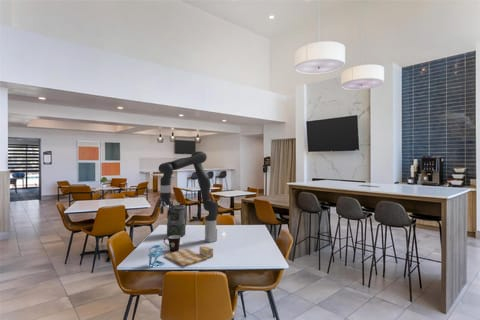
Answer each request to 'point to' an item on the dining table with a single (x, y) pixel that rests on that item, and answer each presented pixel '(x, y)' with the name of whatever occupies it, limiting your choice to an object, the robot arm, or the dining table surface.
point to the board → (185, 257)
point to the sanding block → (206, 251)
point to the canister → (176, 221)
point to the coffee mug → (173, 243)
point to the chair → (155, 255)
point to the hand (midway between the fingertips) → (165, 214)
